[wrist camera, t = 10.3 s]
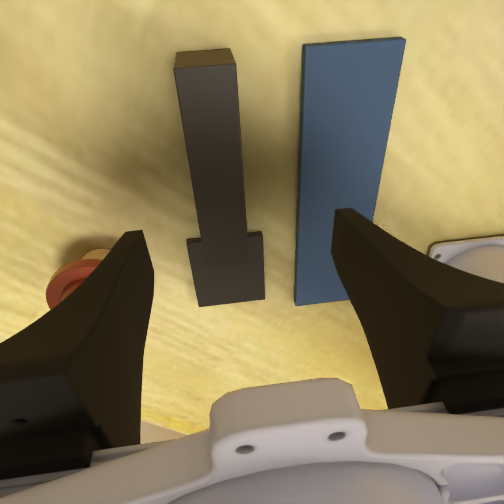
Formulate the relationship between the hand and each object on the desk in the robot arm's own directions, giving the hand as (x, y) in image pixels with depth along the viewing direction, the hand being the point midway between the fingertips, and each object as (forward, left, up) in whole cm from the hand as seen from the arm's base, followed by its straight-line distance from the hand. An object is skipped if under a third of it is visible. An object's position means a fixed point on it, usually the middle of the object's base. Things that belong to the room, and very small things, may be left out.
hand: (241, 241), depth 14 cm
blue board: (-4, -7, -9) cm, 12 cm away
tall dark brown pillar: (-4, +1, -9) cm, 10 cm away
